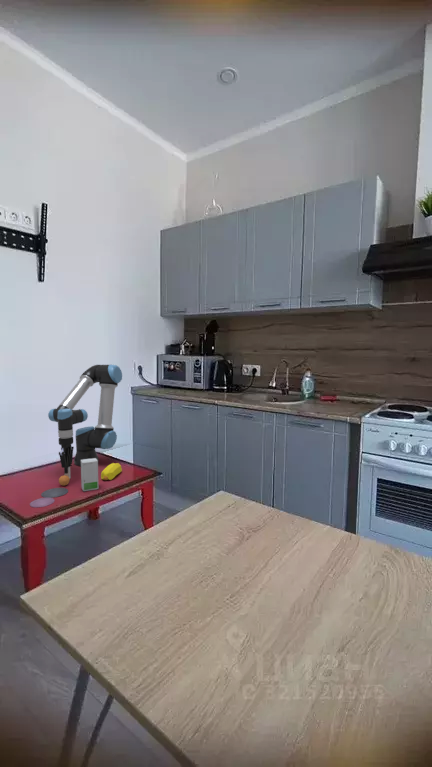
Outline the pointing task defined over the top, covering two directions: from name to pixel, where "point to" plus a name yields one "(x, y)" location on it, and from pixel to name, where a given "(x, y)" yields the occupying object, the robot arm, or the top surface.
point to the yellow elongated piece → (111, 471)
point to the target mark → (54, 492)
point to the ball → (64, 480)
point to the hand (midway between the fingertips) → (67, 478)
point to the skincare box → (89, 474)
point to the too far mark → (42, 502)
